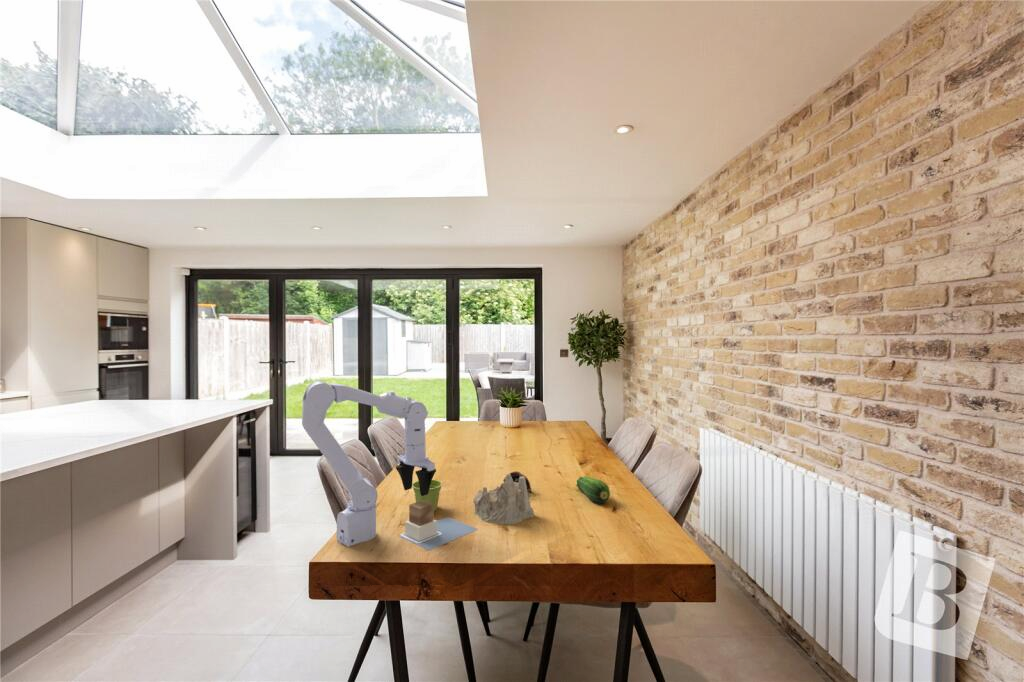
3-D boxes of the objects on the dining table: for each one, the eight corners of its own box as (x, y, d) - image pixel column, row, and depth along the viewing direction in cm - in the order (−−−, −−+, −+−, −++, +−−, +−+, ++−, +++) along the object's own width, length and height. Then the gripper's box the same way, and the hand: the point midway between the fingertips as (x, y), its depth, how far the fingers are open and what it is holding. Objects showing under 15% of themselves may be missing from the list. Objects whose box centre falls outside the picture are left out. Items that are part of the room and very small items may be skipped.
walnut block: (419, 526, 114) (419, 508, 114) (409, 521, 117) (409, 504, 117) (433, 520, 117) (433, 504, 117) (422, 516, 120) (422, 500, 120)
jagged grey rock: (542, 516, 131) (538, 466, 132) (501, 534, 120) (497, 479, 121) (507, 506, 143) (504, 460, 143) (467, 521, 132) (464, 471, 132)
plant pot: (447, 508, 139) (447, 480, 139) (434, 519, 130) (434, 489, 130) (420, 505, 142) (420, 478, 142) (406, 515, 132) (406, 487, 133)
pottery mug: (535, 497, 151) (526, 478, 149) (511, 509, 151) (501, 491, 148) (529, 478, 162) (520, 460, 160) (506, 489, 162) (497, 472, 160)
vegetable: (598, 480, 141) (576, 465, 160) (588, 501, 140) (567, 483, 160) (617, 489, 142) (592, 473, 162) (607, 510, 141) (584, 491, 161)
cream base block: (419, 541, 113) (419, 527, 113) (405, 534, 116) (405, 521, 117) (437, 533, 117) (437, 520, 117) (423, 527, 121) (423, 515, 121)
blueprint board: (429, 554, 107) (429, 549, 107) (398, 539, 116) (398, 535, 116) (478, 532, 120) (478, 528, 120) (447, 520, 129) (447, 516, 129)
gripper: (442, 444, 121) (443, 493, 121) (411, 437, 131) (412, 483, 130) (422, 449, 116) (423, 500, 116) (390, 442, 125) (391, 489, 125)
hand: (416, 492), depth 123 cm, fingers open, 7 cm apart
